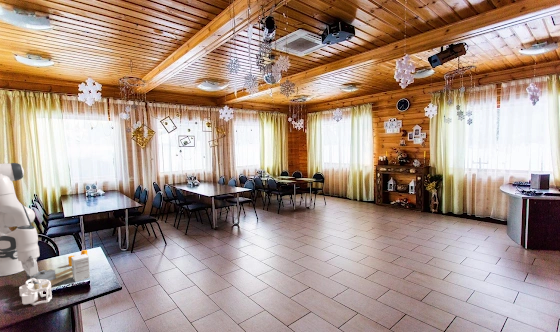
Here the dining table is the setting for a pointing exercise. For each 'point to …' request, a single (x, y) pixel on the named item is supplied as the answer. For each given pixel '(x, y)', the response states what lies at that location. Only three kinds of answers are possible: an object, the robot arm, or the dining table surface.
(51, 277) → the wooden rectangular frame
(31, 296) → the car outline toy
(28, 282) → the stepped grey block
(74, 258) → the supplement box
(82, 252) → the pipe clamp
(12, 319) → the dining table surface
